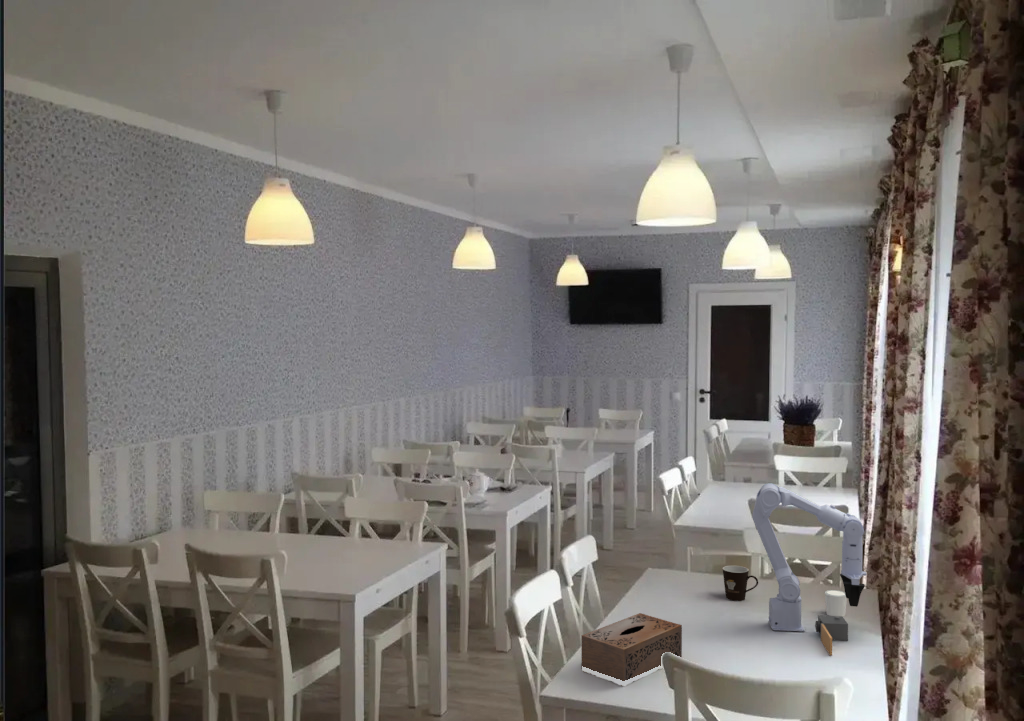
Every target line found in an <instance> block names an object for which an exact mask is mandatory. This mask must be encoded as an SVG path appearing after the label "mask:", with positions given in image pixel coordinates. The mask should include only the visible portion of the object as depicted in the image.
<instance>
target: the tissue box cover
mask: <svg viewBox="0 0 1024 721" xmlns="http://www.w3.org/2000/svg"><path fill="white" fill-rule="evenodd" d="M682 628H683V626H682V624H679V623H676V622H673V621H672V622H671V621H668V620H666V619H662V618H659V617H655V616H652V615H648V614H644V613H641V612H640V613H635V614H634V615H632V616H629V617H626V618H624V619H621V620H618V621H616V622H613V623H611V624H608V625H605V626H603V627H600V628H598V629H595V630H592V631H590V632H587V633H585V634H582V635H581V667H582V666H583V667H586V668H589V669H591V670H593V671H597V672H599V673H602V674H605V675H608V676H611V677H614V678H616V679H620V680H622V681H625V680H628V679H630V678H633V677H635V676H637V675H640V674H642V673H644V672H647V671H649V670H651V669H653V668H655V667H658V666H659V665H660V666H661V656H662V654H663V653H665V652H671V653H673V654H675V655H677V656H680V657H683V651H682V648H683V647H682V646H683V638H682V637H683V629H682Z"/></svg>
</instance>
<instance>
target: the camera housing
mask: <svg viewBox="0 0 1024 721" xmlns="http://www.w3.org/2000/svg"><path fill="white" fill-rule="evenodd" d="M821 623H823V624H824V626H825V627H826V629H827V631H828V632H829V634H830V635H831V637H832V641H835V642H836V641H840V642H842V641H843V642H848V641H849V637H848V636H849V624H848V622H847V621H846V619H845V618H844V617H842V616H829V615H819V614H818V615H817V620H815V623H814V626H815V632H817V633H818V634H819V636H820V637H821Z"/></svg>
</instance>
